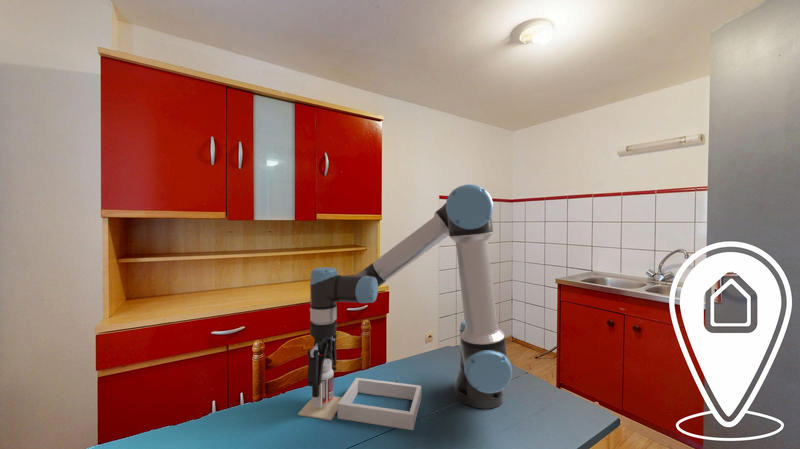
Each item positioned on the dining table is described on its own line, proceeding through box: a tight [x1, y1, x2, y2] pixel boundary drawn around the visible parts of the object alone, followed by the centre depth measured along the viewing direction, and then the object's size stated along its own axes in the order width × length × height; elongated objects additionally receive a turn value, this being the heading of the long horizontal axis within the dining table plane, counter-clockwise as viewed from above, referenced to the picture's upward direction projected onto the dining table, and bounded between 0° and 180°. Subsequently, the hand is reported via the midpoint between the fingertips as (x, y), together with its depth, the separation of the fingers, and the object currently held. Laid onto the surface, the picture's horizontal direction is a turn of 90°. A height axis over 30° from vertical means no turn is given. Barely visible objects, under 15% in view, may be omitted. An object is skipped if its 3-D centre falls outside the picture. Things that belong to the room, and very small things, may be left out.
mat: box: [297, 395, 342, 421], centre depth 87 cm, size 10×10×1 cm
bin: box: [337, 377, 422, 431], centre depth 87 cm, size 21×14×4 cm
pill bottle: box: [321, 358, 335, 406], centre depth 87 cm, size 6×6×11 cm
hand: (322, 399), depth 87 cm, fingers closed on pill bottle, 6 cm apart
